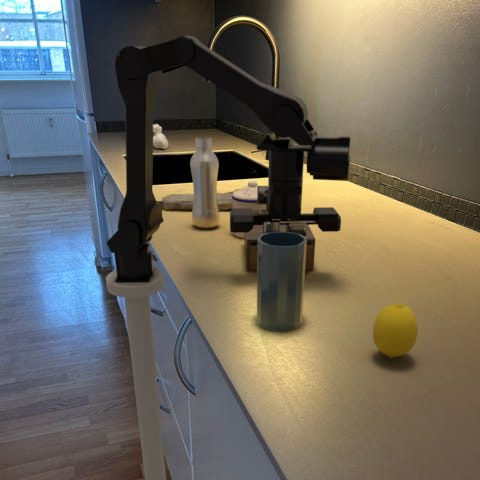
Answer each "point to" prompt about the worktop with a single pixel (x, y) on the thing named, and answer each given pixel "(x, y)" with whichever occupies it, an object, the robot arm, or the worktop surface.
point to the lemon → (395, 330)
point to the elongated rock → (187, 199)
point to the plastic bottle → (204, 184)
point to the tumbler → (280, 280)
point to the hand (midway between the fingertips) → (282, 266)
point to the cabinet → (257, 231)
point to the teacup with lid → (248, 201)
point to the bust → (159, 138)
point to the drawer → (255, 248)
